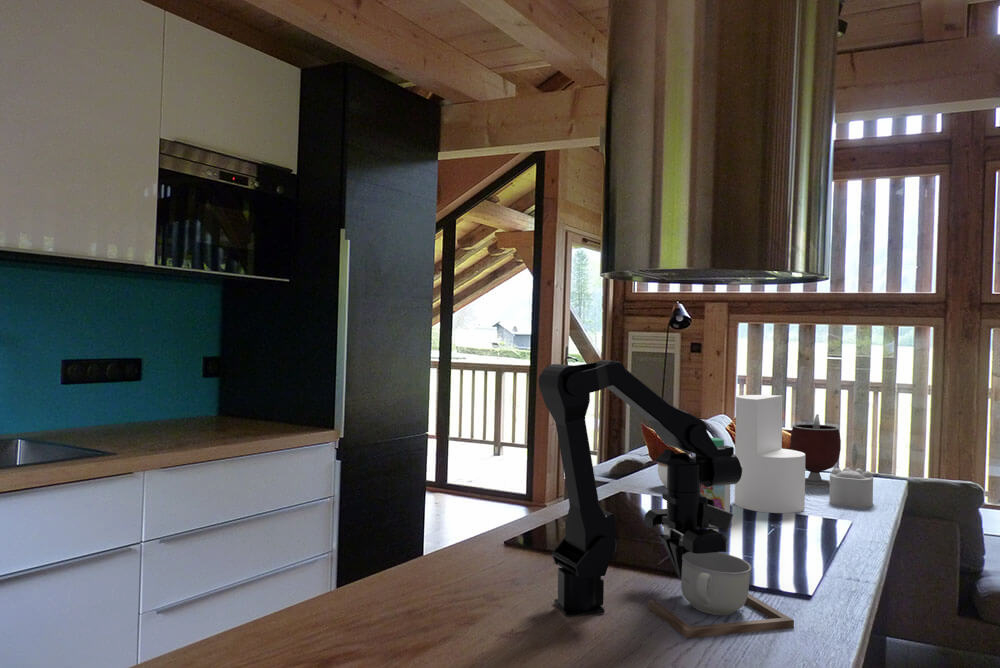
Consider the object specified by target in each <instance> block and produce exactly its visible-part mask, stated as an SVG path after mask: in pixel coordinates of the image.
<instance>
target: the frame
mask: <svg viewBox="0 0 1000 668" xmlns="http://www.w3.org/2000/svg"><path fill="white" fill-rule="evenodd" d="M647 604H648V605H647V606H648V607H647V608H648V609H649V610H650V611H651V612H652V613H653V614H655V615H656V616H658V617H659V618H660V619H661V620H662V621H664V622H665V623H666V624H667V625H669V626H670V627H671V628H673V629H674V630H675V631H676V632H678V633H679V634H681V636H683V637H684V638H685V639H694V638H705V637H714V636H717V637H718V636H725V635H737V634H745V633H756V632H758V633H759V632H766V631H775V630H785V629H795V620H794V619H793V618H791V617H790V616H788V615H786V614H784V613H782V612H781V611H780V610H777V609H776V608H774V607H772V606H771V605H769V604H768V603H765V602H764V601H763V600H760V599H759V598H757V597H755V596H754V595H752V594H750V593H749V592H748V596H747V600H746V602H745V604H746V605H748V606H749V607H751V608H752V609H754V610H756V611H757V612H759V613H760V614H762V615H763V616H766V617H768V618H767V619H757V620H745V621H735V622H734V621H733V622H723V623H713V624H704V625H703V624H702V625H691V626H690V625H689V624H687V623H686V622H684V620H682V619H680V618H679V617H678V616H676V614H674V613H672V611H670V610H669V609H668V608H666V607H665V606H663V605H662V604H661V603H660V602H658V601H657V600H655V599H654V600H653V599H652V600H648V601H647Z"/></svg>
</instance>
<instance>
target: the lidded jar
mask: <svg viewBox="0 0 1000 668" xmlns="http://www.w3.org/2000/svg"><path fill="white" fill-rule="evenodd" d="M657 472H658V473H657V475H658V477H659V480H660V481H661V483H662V484H663V485H664V487H665V488H666V489H667V465H664V464H661V463H657Z"/></svg>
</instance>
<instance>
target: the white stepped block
mask: <svg viewBox="0 0 1000 668" xmlns="http://www.w3.org/2000/svg"><path fill="white" fill-rule="evenodd" d="M734 430H735V434H734V435H735V438H734V440H735V441H734V454H735V455H736V456H737V458H738V459H739V462H740V465H741V467H742V476H741V479H740V480H739V482H738V483H736V484H734V501H733V502H734V505H735V506H736V507H739V508H741V509H745V510H749V511H755V512H762V513H768V514H769V513H770V514H771V513H773V514H793V513H799V512H803V511H804V510H805V507H806V504H805V503H806V500H805V499H806V498H805V497H806V487H805V478H806V469H805V453H803V452H799V451H795V450H791V449H788V448H783V395H777V394H776V395H775V394H741V395H740V394H739V395H736V396H735V429H734Z"/></svg>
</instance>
